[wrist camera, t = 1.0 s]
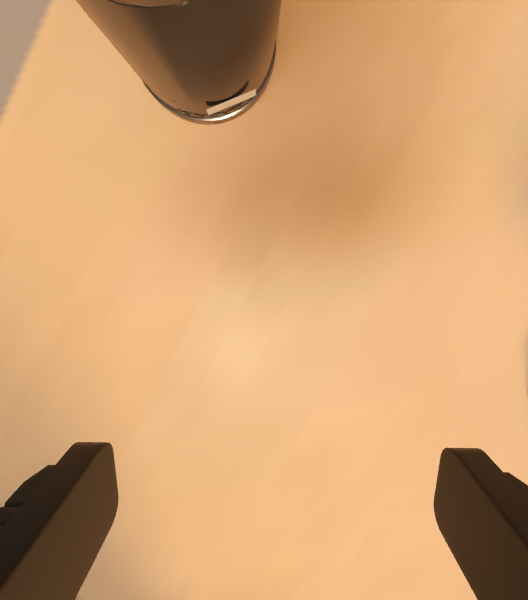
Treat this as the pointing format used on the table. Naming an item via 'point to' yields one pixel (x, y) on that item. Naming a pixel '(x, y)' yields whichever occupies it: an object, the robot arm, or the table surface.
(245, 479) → the table surface
